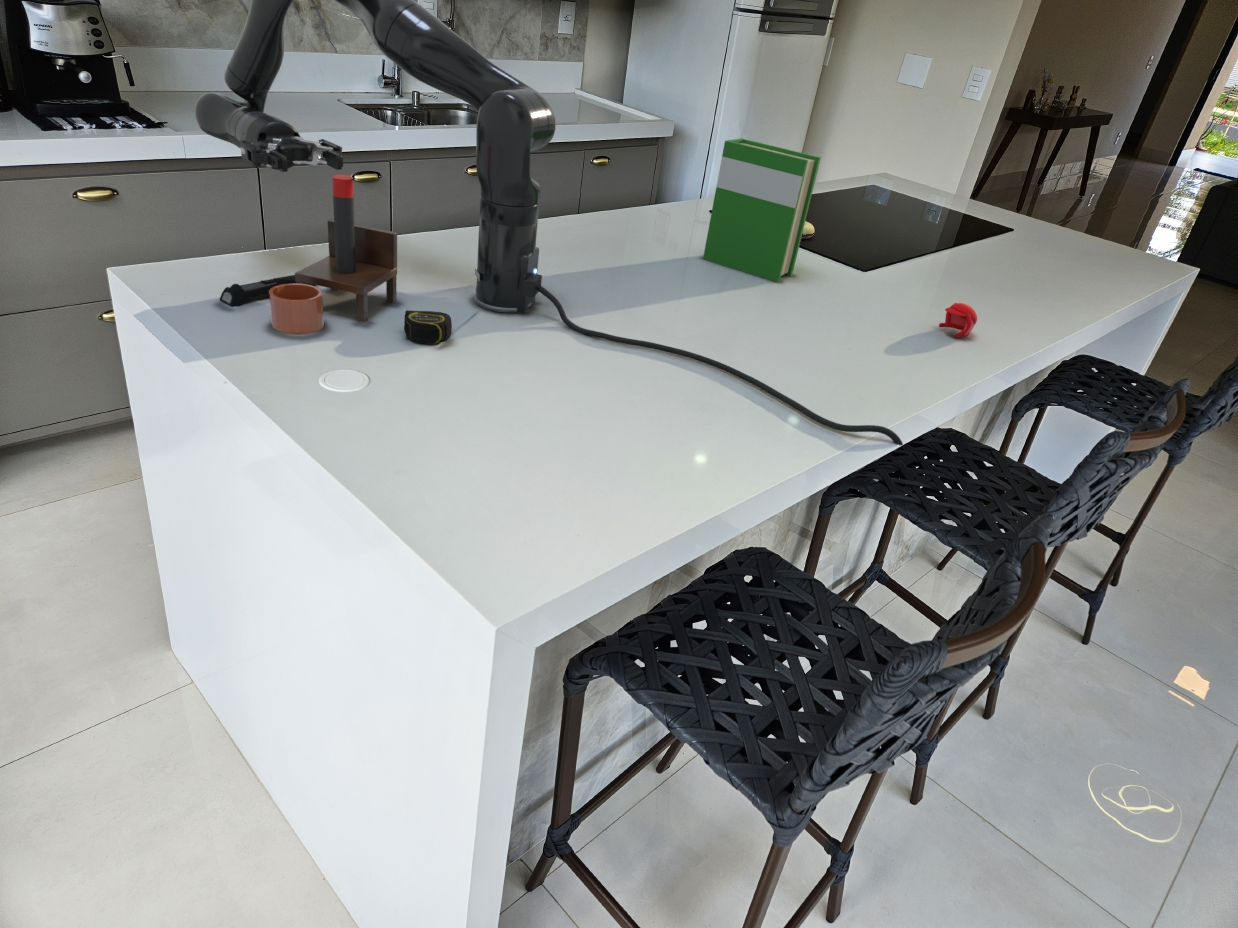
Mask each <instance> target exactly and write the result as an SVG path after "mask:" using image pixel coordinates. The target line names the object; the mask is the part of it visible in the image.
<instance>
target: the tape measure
mask: <svg viewBox="0 0 1238 928" xmlns="http://www.w3.org/2000/svg"><path fill="white" fill-rule="evenodd" d="M404 313H405V314H404V318H403V319H404V320H403V322H404V324H403V325H404V326H403V329H404V330H403V331H404V334H405V336H406V338H407V339H409V340H410V341H411V342H415V343H418V344H425V345H433V344H434V345H436V344H443V343H445V342H447V341H449V339H450V338H451V337H452V330H453V323H452V317H451V316H450V314H448V313H445V312H441V311H431V310H405V312H404Z"/></svg>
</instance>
